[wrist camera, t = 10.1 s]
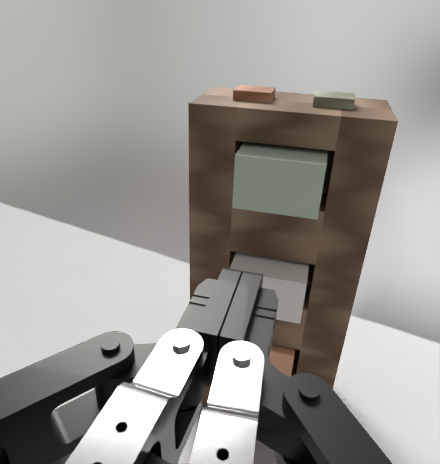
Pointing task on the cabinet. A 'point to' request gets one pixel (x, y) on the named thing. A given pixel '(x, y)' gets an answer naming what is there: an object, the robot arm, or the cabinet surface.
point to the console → (282, 226)
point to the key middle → (279, 281)
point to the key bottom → (282, 358)
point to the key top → (279, 179)
